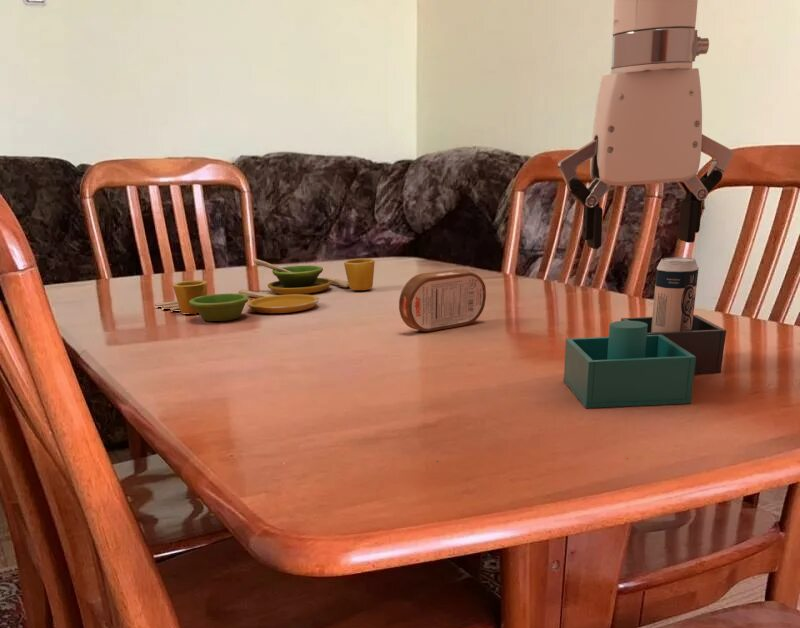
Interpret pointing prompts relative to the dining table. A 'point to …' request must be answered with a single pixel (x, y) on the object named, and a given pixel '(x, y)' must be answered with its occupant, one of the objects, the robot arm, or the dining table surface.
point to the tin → (442, 300)
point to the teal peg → (627, 340)
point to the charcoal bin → (696, 342)
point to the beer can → (674, 295)
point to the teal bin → (629, 374)
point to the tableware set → (290, 282)
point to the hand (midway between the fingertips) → (639, 244)
